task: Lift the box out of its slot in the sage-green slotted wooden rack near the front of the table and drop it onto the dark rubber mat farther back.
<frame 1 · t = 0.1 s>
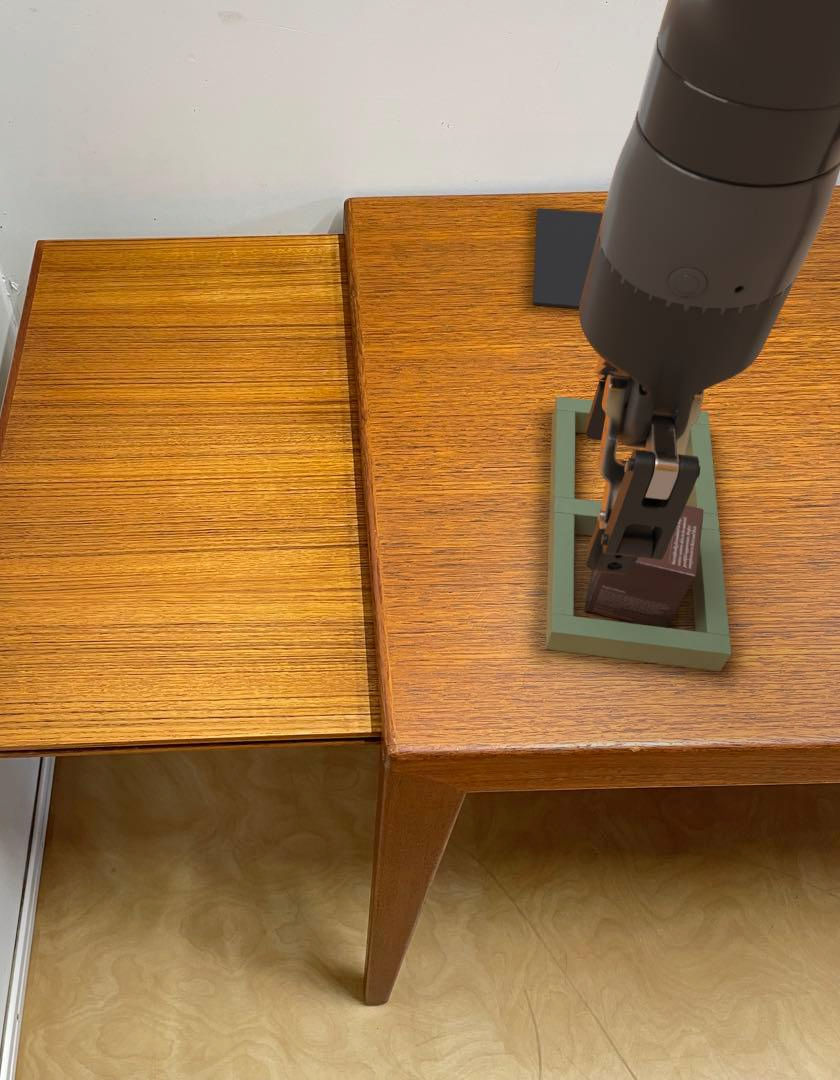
hand: (606, 497, 51), 22 cm above the table, tool pointing down, fingers open, 8 cm apart
mat: (609, 262, 94), on the table
rack: (628, 532, 76), on the table
box: (629, 590, 73), resting in rack
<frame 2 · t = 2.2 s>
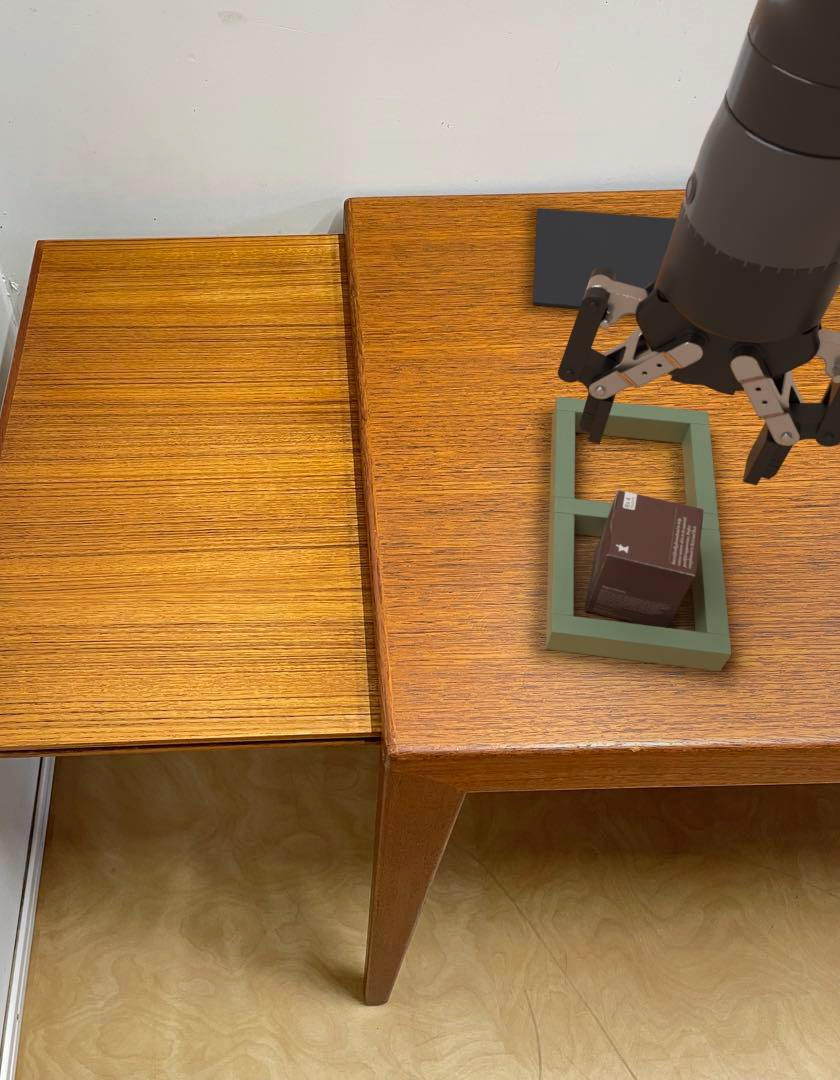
hand: (671, 452, 56), 19 cm above the table, tool pointing down, fingers open, 8 cm apart
nothing on the table moved.
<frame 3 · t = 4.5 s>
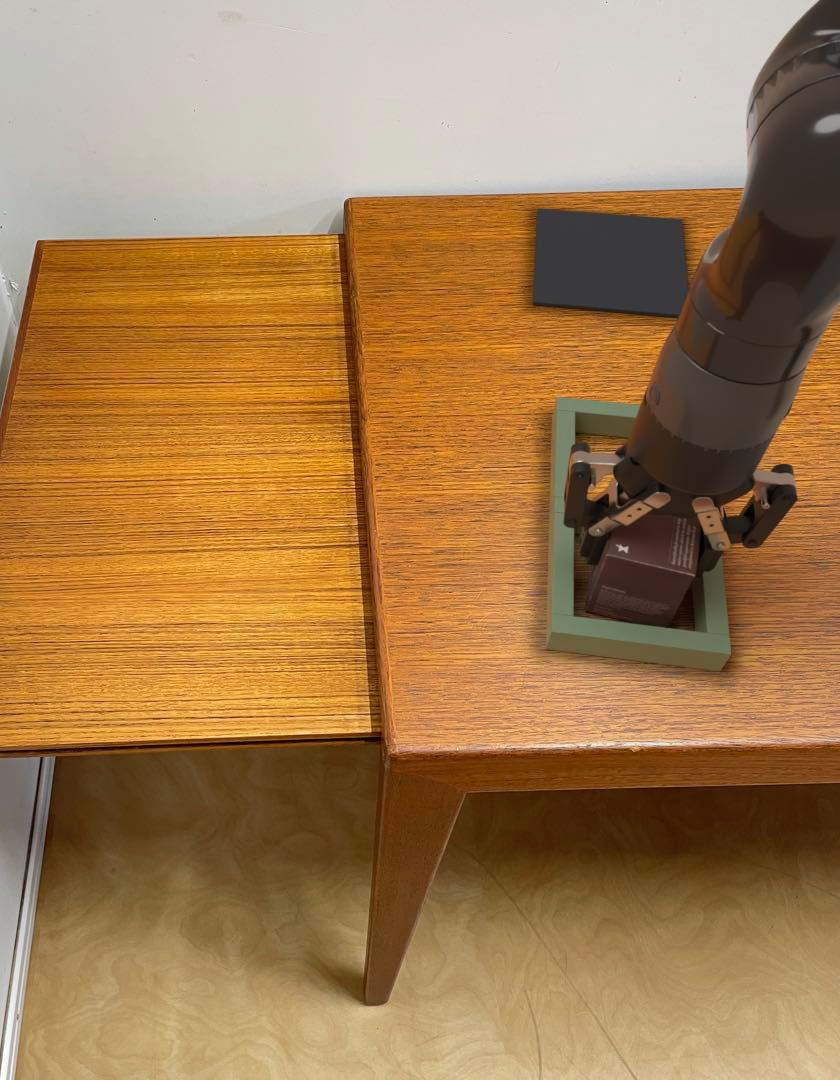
hand: (641, 560, 70), 4 cm above the table, tool pointing down, fingers closed on box, 6 cm apart
box: (629, 591, 73), resting in rack, touching gripper
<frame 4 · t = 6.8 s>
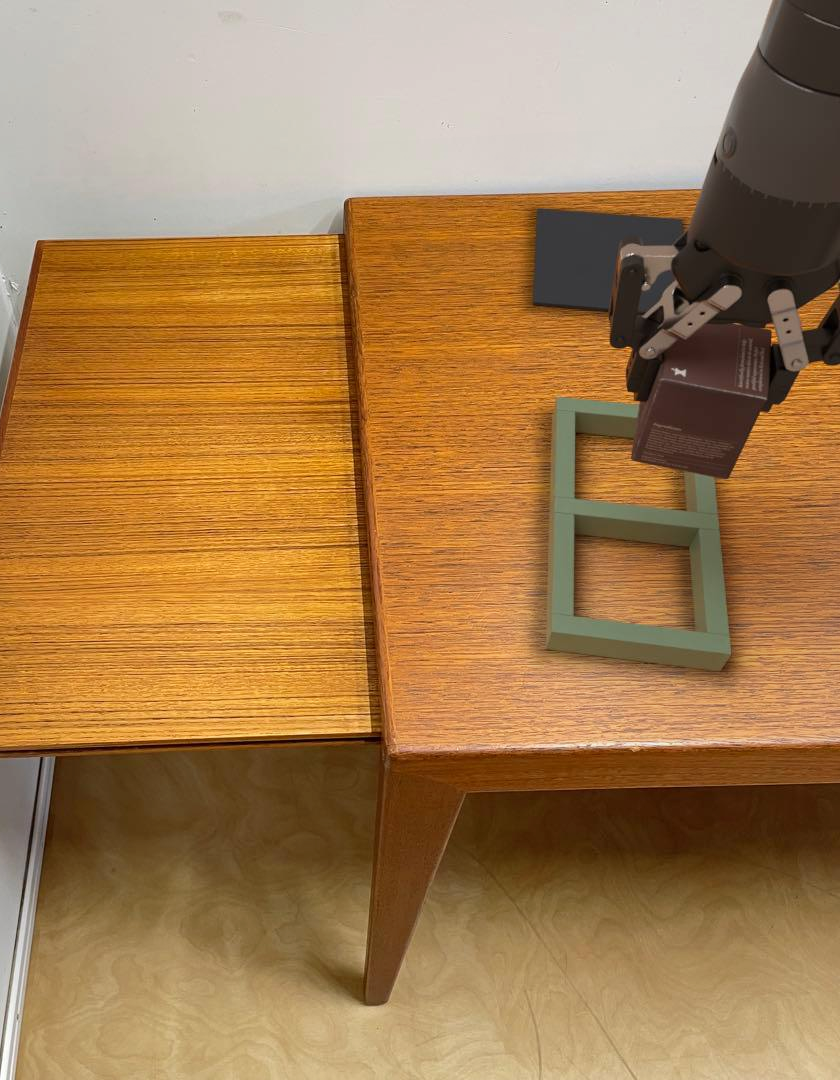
hand: (698, 396, 60), 18 cm above the table, tool pointing down, fingers closed on box, 6 cm apart
box: (681, 440, 63), point 14 cm above the table, touching gripper
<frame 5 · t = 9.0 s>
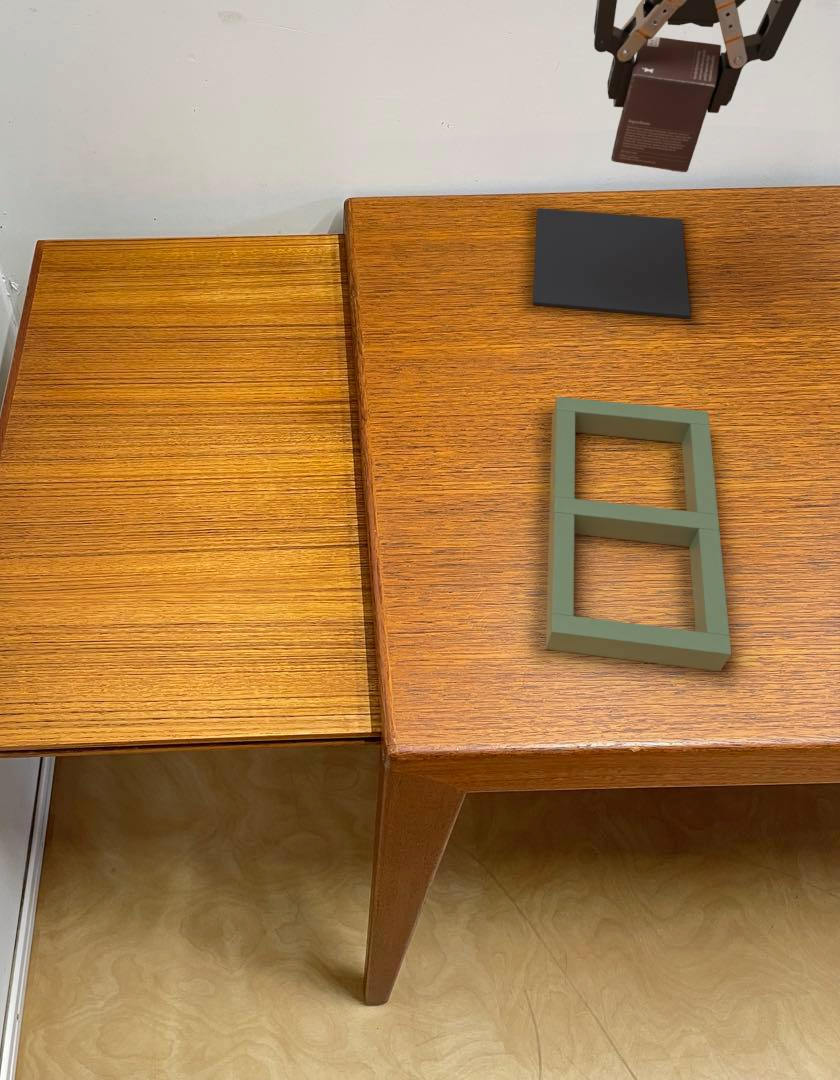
hand: (664, 103, 76), 19 cm above the table, tool pointing down, fingers closed on box, 6 cm apart
box: (651, 150, 80), point 15 cm above the table, touching gripper
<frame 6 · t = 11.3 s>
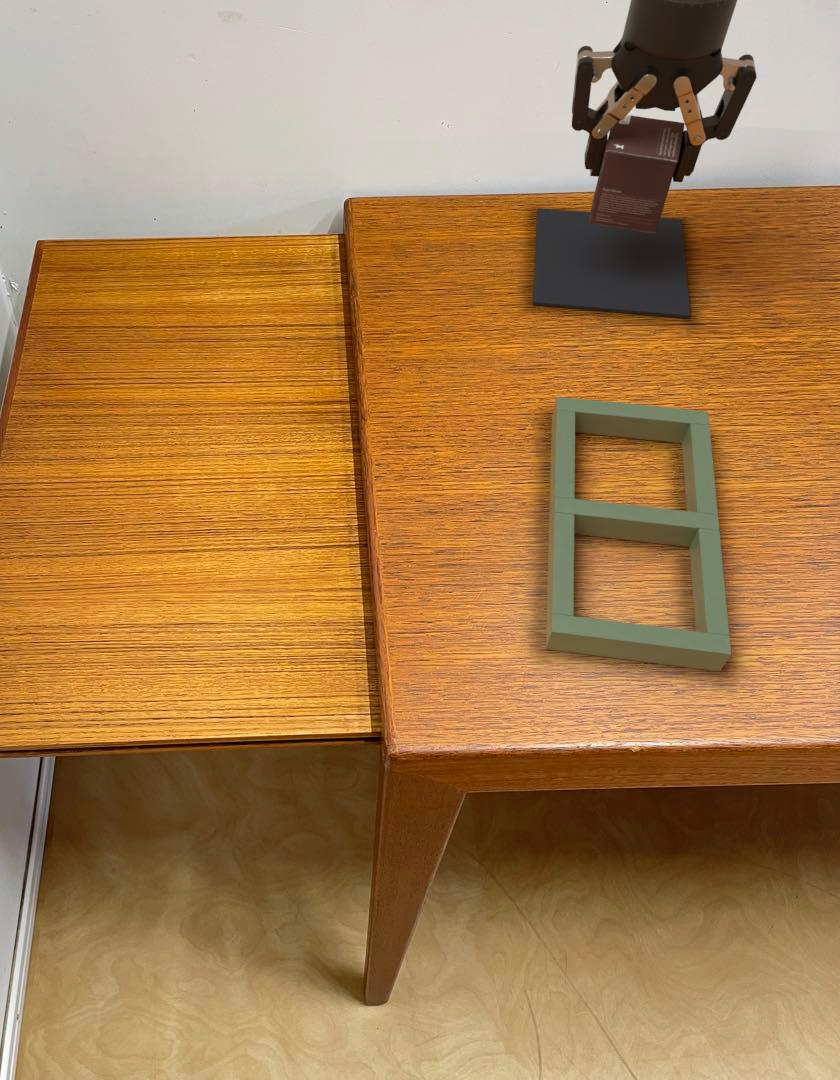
hand: (635, 173, 86), 10 cm above the table, tool pointing down, fingers closed on box, 6 cm apart
box: (624, 212, 90), point 6 cm above the table, touching gripper
when the fingers open (4 cm above the table, at t = 13.4 s): box stays where it is, resting on mat.
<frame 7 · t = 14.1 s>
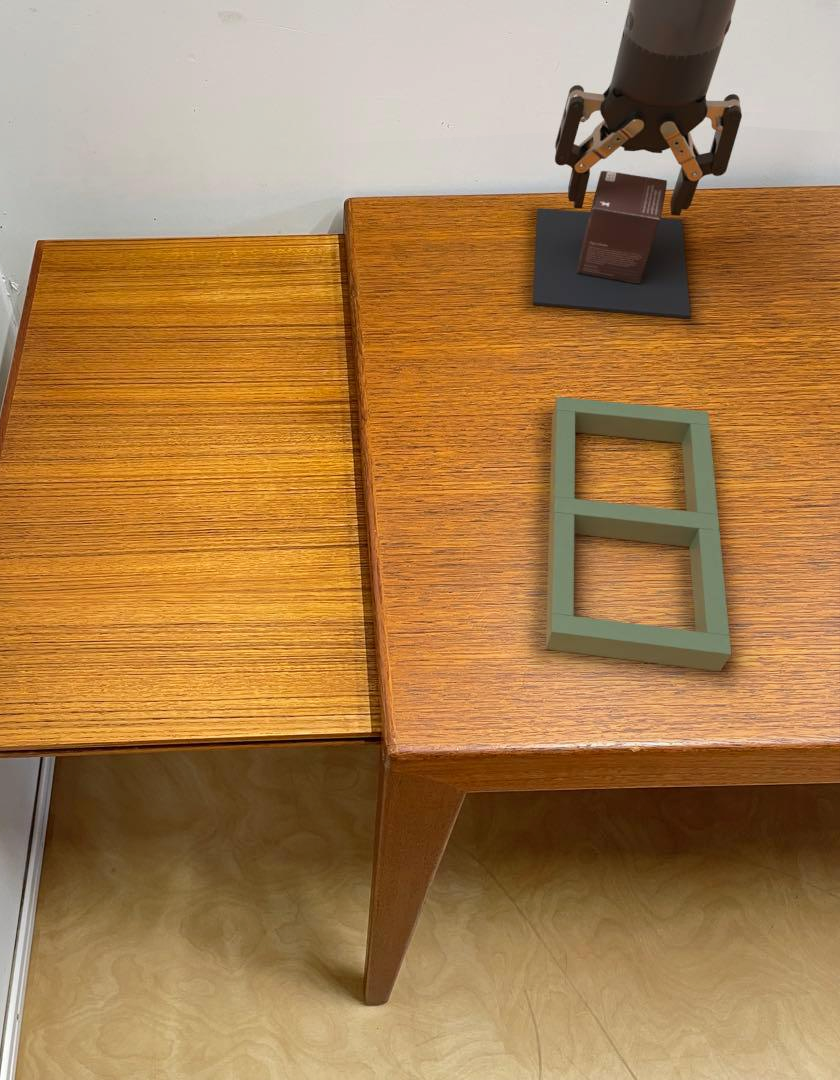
hand: (625, 206, 89), 6 cm above the table, tool pointing down, fingers open, 8 cm apart
box: (611, 261, 94), resting on mat
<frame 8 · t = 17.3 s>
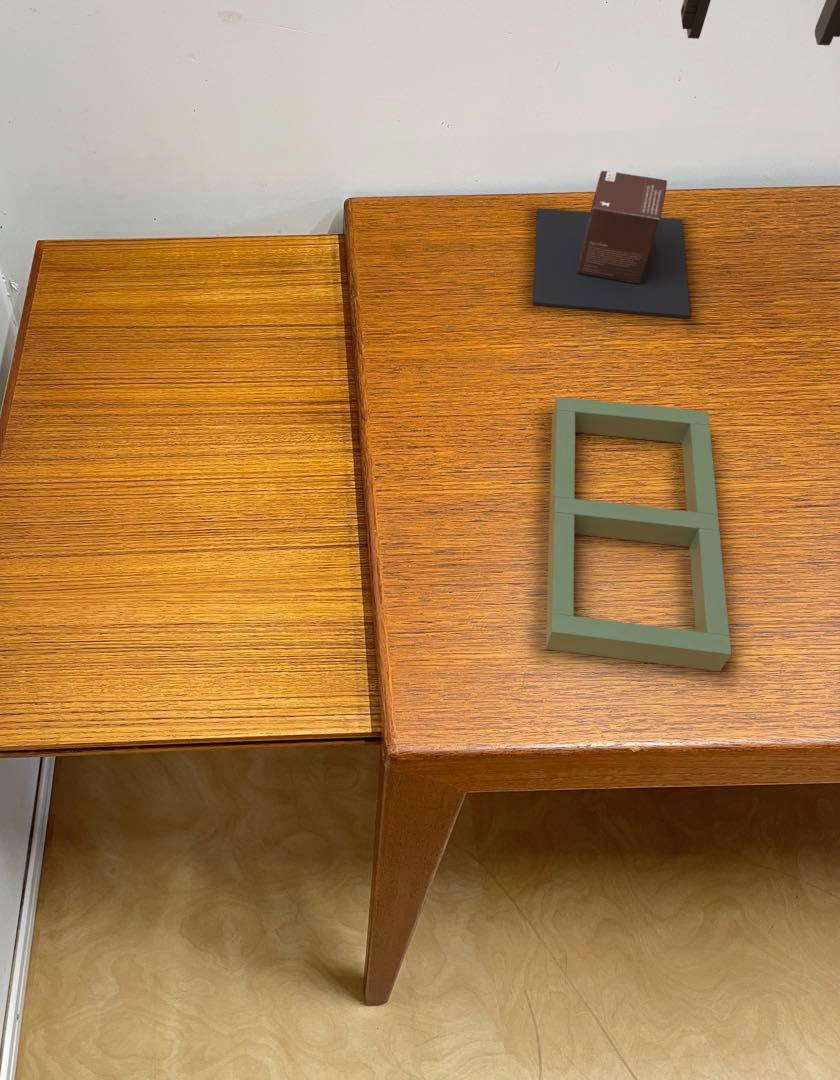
hand: (755, 36, 68), 26 cm above the table, tool pointing down, fingers open, 8 cm apart
nothing on the table moved.
at the end: box inside the target area on the mat (0.1 cm from its centre), point 0.2 cm above the mat's base; box tilted 0°; the gripper is holding nothing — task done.
